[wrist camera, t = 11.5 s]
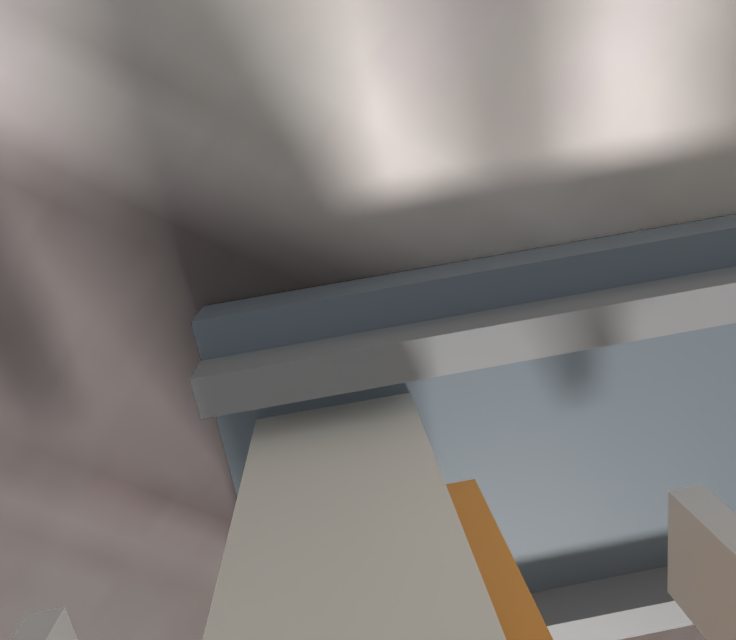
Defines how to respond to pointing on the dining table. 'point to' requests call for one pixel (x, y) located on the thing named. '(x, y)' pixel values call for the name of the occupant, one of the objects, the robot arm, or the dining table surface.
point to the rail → (524, 396)
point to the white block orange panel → (363, 538)
